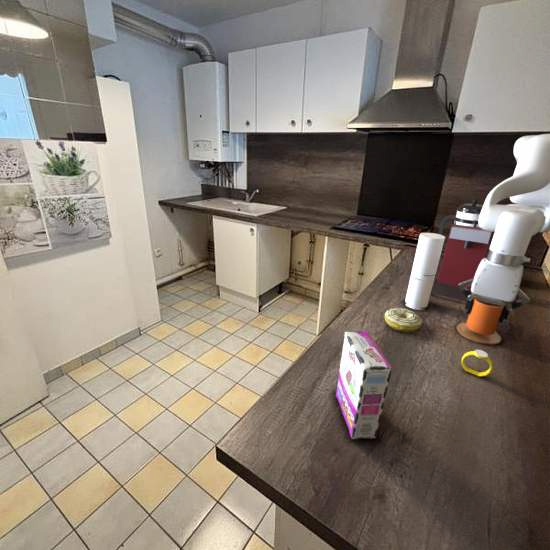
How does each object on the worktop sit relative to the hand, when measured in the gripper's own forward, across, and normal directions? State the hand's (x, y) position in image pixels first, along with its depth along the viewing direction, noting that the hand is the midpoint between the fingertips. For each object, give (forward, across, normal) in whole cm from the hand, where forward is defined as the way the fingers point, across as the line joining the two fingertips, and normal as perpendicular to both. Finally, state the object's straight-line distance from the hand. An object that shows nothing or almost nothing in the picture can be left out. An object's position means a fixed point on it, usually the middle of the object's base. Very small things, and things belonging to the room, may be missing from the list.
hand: (484, 315), depth 84 cm
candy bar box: (+6, +19, +50) cm, 54 cm away
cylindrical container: (+6, +19, -8) cm, 21 cm away
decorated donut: (+6, +20, +9) cm, 22 cm away
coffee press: (+6, +13, -74) cm, 75 cm away
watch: (+6, 0, +21) cm, 22 cm away
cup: (+4, 0, 0) cm, 4 cm away
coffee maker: (+6, +9, -29) cm, 31 cm away
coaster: (+6, 0, 0) cm, 6 cm away
